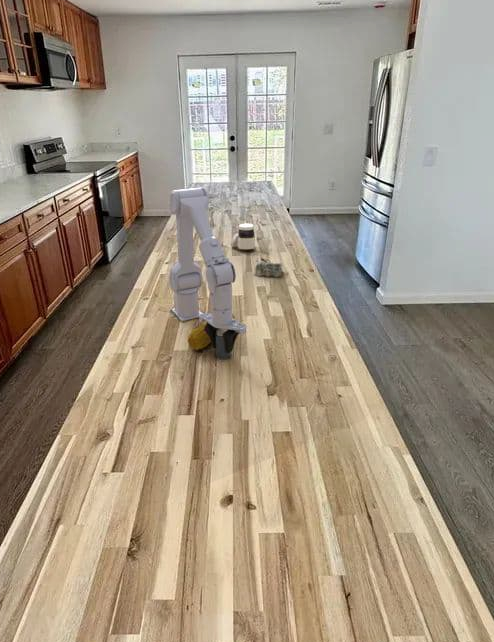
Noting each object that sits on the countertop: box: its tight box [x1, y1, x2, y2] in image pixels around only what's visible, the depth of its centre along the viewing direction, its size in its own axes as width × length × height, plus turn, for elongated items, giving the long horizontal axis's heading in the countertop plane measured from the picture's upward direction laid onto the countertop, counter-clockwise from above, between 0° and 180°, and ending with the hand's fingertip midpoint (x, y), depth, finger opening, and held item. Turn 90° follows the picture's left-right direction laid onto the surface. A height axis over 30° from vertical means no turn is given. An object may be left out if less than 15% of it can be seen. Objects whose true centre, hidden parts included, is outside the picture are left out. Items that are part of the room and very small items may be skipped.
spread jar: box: [230, 222, 256, 253], centre depth 202 cm, size 12×11×12 cm
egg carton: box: [254, 261, 283, 278], centre depth 176 cm, size 11×8×4 cm
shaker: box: [215, 329, 231, 360], centre depth 121 cm, size 4×4×8 cm
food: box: [187, 313, 235, 351], centre depth 131 cm, size 21×6×6 cm, turn 149°
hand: (223, 349), depth 122 cm, fingers closed on shaker, 4 cm apart
